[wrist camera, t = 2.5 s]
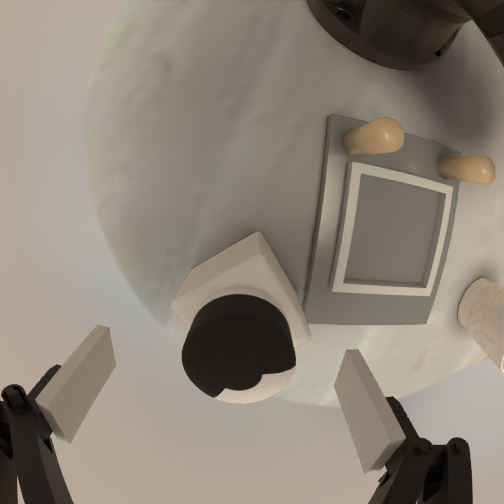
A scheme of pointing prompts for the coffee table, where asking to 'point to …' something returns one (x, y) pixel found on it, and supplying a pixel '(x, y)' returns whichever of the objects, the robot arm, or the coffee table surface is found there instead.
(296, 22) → the coffee table surface
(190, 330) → the medicine bottle
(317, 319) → the peg board
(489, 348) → the white cup
